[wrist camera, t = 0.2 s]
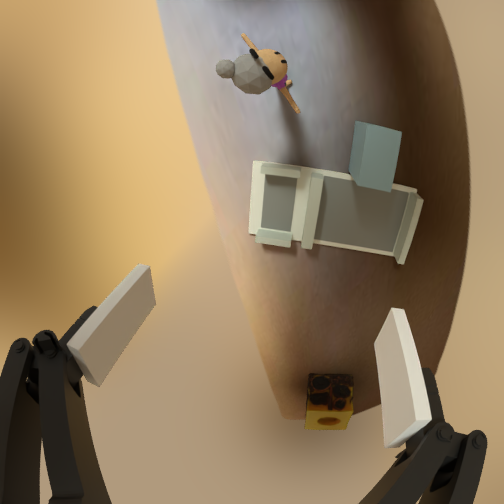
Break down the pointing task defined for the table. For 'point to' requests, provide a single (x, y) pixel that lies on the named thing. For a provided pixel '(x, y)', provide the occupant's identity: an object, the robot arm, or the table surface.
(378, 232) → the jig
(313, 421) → the yellow tissue box
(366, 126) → the grey-blue block
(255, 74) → the toy
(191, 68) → the table surface
